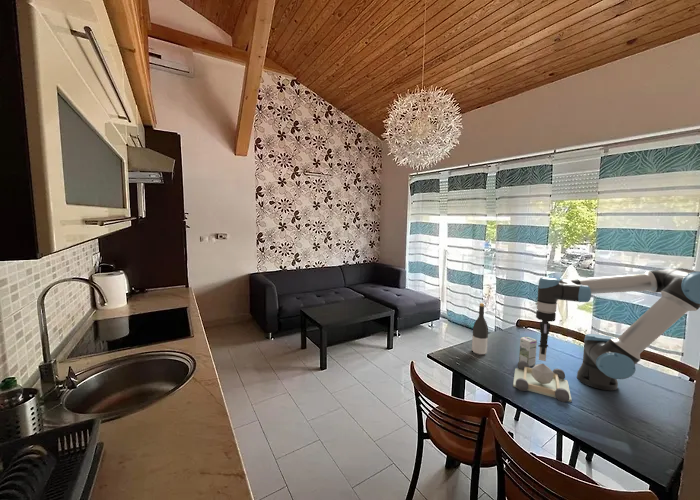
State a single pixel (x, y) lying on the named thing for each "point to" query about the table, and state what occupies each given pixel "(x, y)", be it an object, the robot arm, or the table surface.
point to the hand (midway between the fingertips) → (542, 359)
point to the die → (542, 374)
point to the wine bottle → (480, 333)
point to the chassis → (554, 388)
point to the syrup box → (528, 350)
